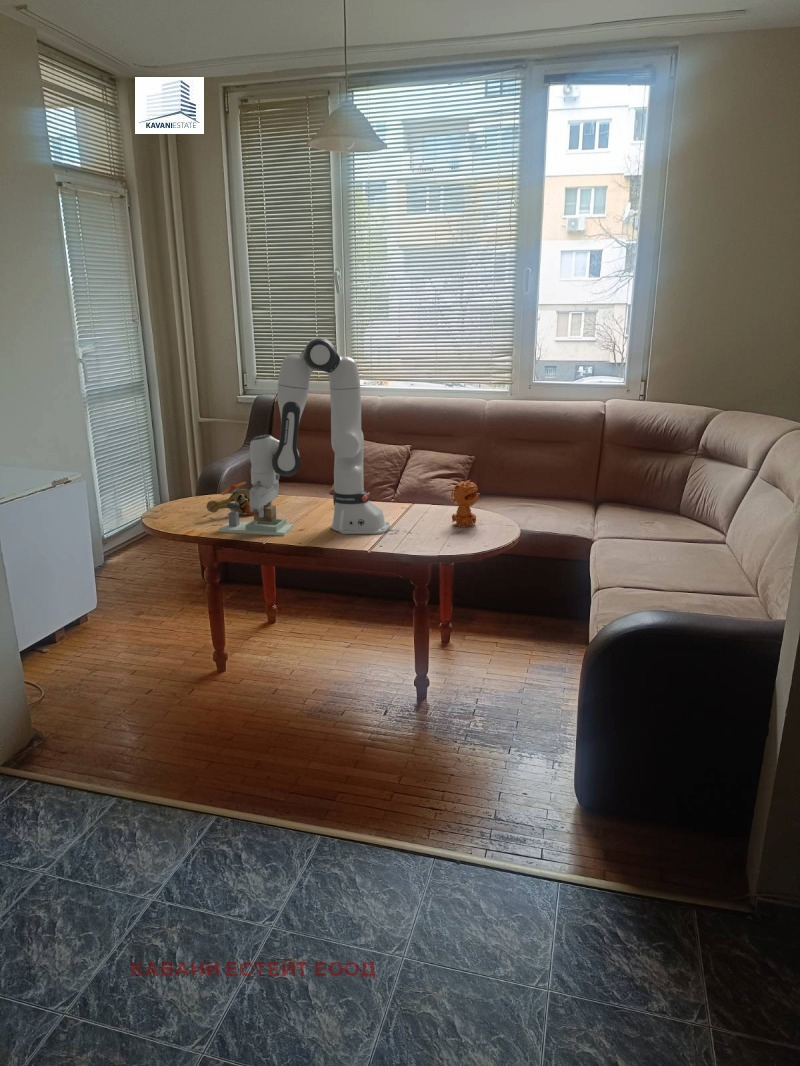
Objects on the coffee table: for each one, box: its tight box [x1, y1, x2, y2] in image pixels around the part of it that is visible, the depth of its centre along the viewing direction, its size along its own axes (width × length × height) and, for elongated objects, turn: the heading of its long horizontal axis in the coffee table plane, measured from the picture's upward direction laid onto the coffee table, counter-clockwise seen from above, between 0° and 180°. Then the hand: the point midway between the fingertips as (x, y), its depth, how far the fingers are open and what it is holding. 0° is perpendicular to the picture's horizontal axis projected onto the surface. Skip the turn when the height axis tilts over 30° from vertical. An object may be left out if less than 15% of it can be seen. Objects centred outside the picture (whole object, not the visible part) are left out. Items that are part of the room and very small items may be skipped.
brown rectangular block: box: [253, 505, 277, 522], centre depth 269 cm, size 7×5×5 cm
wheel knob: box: [226, 502, 239, 513], centre depth 272 cm, size 4×4×5 cm
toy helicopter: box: [206, 481, 254, 516], centre depth 288 cm, size 8×21×14 cm, turn 133°
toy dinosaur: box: [450, 479, 481, 527], centre depth 275 cm, size 11×11×18 cm
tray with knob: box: [218, 511, 295, 537], centre depth 271 cm, size 26×11×6 cm, turn 79°
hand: (265, 514), depth 270 cm, fingers closed on brown rectangular block, 5 cm apart
